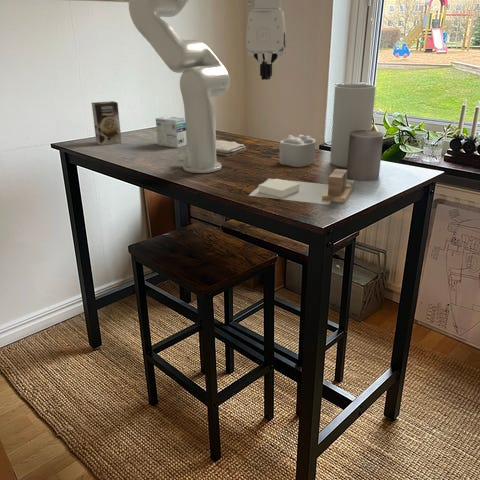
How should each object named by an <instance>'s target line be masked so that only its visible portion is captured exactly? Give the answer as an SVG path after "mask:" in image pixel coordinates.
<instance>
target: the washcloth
mask: <svg viewBox="0 0 480 480" xmlns="http://www.w3.org/2000/svg"><path fill="white" fill-rule="evenodd" d="M246 150H247V146H245V145H244V144H243V143H238V142H236V141H227V140H220V139H219V140H218V139H216V155H221V156H226V157H229V156H234V155H238V154H240V153H243V152H245V151H246Z"/></svg>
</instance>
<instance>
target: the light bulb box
mask: <svg viewBox="0 0 480 480" xmlns="http://www.w3.org/2000/svg"><path fill="white" fill-rule="evenodd" d="M155 126H156V127H155V128H156V137H157V138H156V140H157V146H162V147H164V146H165V147H170V148H181V147H185V146H187V142H186V125H185V117H179V116H168V115H164V116H161V117H155Z"/></svg>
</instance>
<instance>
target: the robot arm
mask: <svg viewBox="0 0 480 480" xmlns="http://www.w3.org/2000/svg"><path fill="white" fill-rule="evenodd" d="M188 2H189V0H128V11H129V16H130V19H131V21H132V23H133V26H134V27H135V29H136V30H137V31H138V32H139V33H140V35H141V36H142V37H143V38H144V39H145V40H146V41H147V42H148V43H149V44H150V45H151V47H152V49H154V51H155V52H156V53H157V55H158V57H160V59H161V60H162V61H163V62H164V64H165V65H166V66H167V67H168V69H170V71H172V72H173V73H175V74H181V76H180V78H179V89H180V93H181V94H180V95H181V96H182V102H183V109H184V118H185V125H186V142H187V145H186V154H183V153H179V154H178V155H177V161H179V162H184V164H183V166H182V169H183V170H184V171H185V172H189V173H192V174H206V173H207V174H208V173H214V172H217V171H219V170H221V169H222V163H221V162H219V161H217V154H216V140H217V135H216V132H217V129H216V113H215V108H214V105H213V103H212V101H211V98H213V97H219V96H222V95H223V96H224V94H226V93H227V92H228V90H229V89H230V88H231V87H230V86H231V77H230V75H229V72H228V70H227V68H226V67H225V66H224V64H223V63H222V62H221V61H220V60H219V58H218V57H217V56H216V54H215V53H214V52H213V51H212V50H211V48H210V47H209V46H208V45H207V44H206V43H204V42H202V41H201V40H196V39H183V38H182V37H181V36H179V34H178V33H177V32H176V31H175V29H174V28H173V27H172V26H171V25H170V24H169V23H168V22H167V21H165V20H164V19H162V18H172V17H175V16H177V15H179V13H181V11H182V10H183V9H184V7H185V6H186V5H187V3H188ZM246 6H247V7H248V8H251V11H249V12H248V17H247V23H246V34H245V35H246V36H245V48H246V50H247V57H251V58H254V59H255V60H256V61H257V62H258V64H259V76H260V77H261V80H265V81H268V80H271V78H272V76H273V64H274V63H275V61H276V60H277V59H278V58H282V57H285V56H286V46H287V36H286V35H287V33H286V32H287V31H286V19H285V13H284V10H282V0H248V1H247V4H246ZM266 53H267V55H266ZM266 56H267V57H266Z"/></svg>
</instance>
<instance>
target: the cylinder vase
mask: <svg viewBox="0 0 480 480" xmlns="http://www.w3.org/2000/svg"><path fill="white" fill-rule="evenodd" d="M376 87H377V86H376V85H373V84H365V83H362V84H360V83H348V84H346V83H345V84H344V83H343V84H336V85H334V96H333V97H334V99H333V111H332V112H333V113H332V126H331V127H332V128H331V142H330V143H331V144H330V159H329V160H330V164H332V166H336V167H338V168H344V169H345V168H346V169H347V160H348V150H349V138H350V132H352V131H356V130H366V129H367V130H372V129H373V128H372V127H373V117H374V107H375V98H376V97H375V96H376V89H377V88H376Z"/></svg>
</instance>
